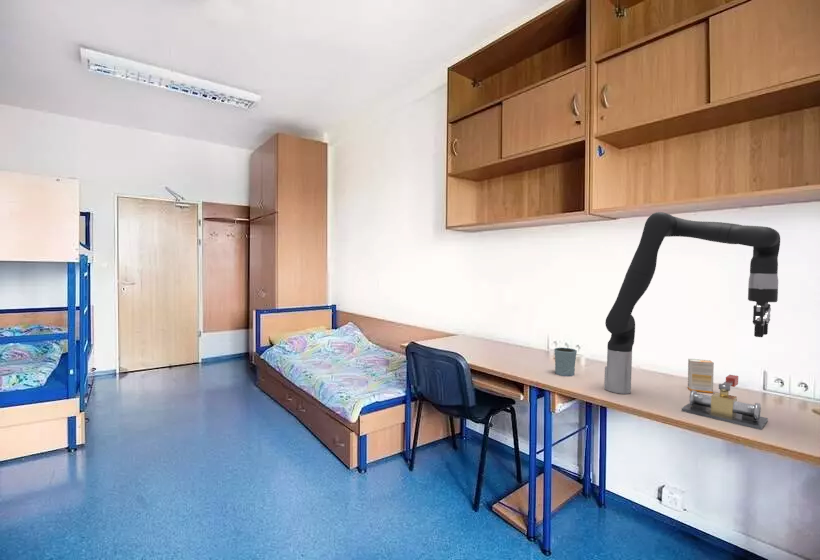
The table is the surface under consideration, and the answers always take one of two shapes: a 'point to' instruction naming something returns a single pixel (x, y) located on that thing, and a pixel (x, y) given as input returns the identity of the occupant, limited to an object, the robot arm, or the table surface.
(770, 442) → the table surface
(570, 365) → the grey-green tapered cup
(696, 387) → the supplement box
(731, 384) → the valve lever
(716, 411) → the valve body
